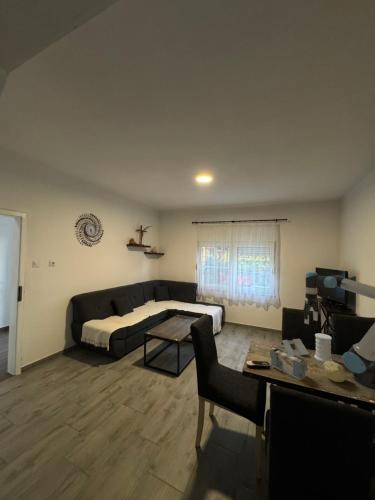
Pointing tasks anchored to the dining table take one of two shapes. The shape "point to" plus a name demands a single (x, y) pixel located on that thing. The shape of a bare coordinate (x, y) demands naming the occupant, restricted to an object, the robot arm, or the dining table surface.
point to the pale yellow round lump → (334, 371)
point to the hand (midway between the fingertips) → (311, 322)
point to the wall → (295, 347)
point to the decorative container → (323, 347)
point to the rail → (286, 358)
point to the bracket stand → (294, 371)
